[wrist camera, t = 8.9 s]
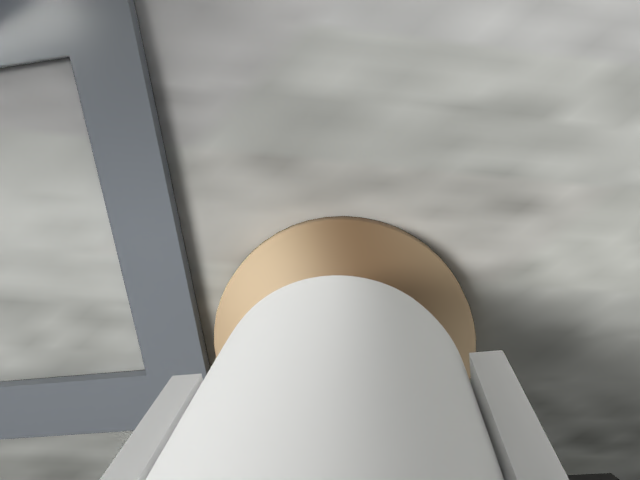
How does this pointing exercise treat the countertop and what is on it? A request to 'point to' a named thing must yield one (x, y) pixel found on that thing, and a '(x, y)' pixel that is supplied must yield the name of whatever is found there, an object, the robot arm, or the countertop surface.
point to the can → (333, 394)
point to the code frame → (111, 217)
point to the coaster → (349, 272)
